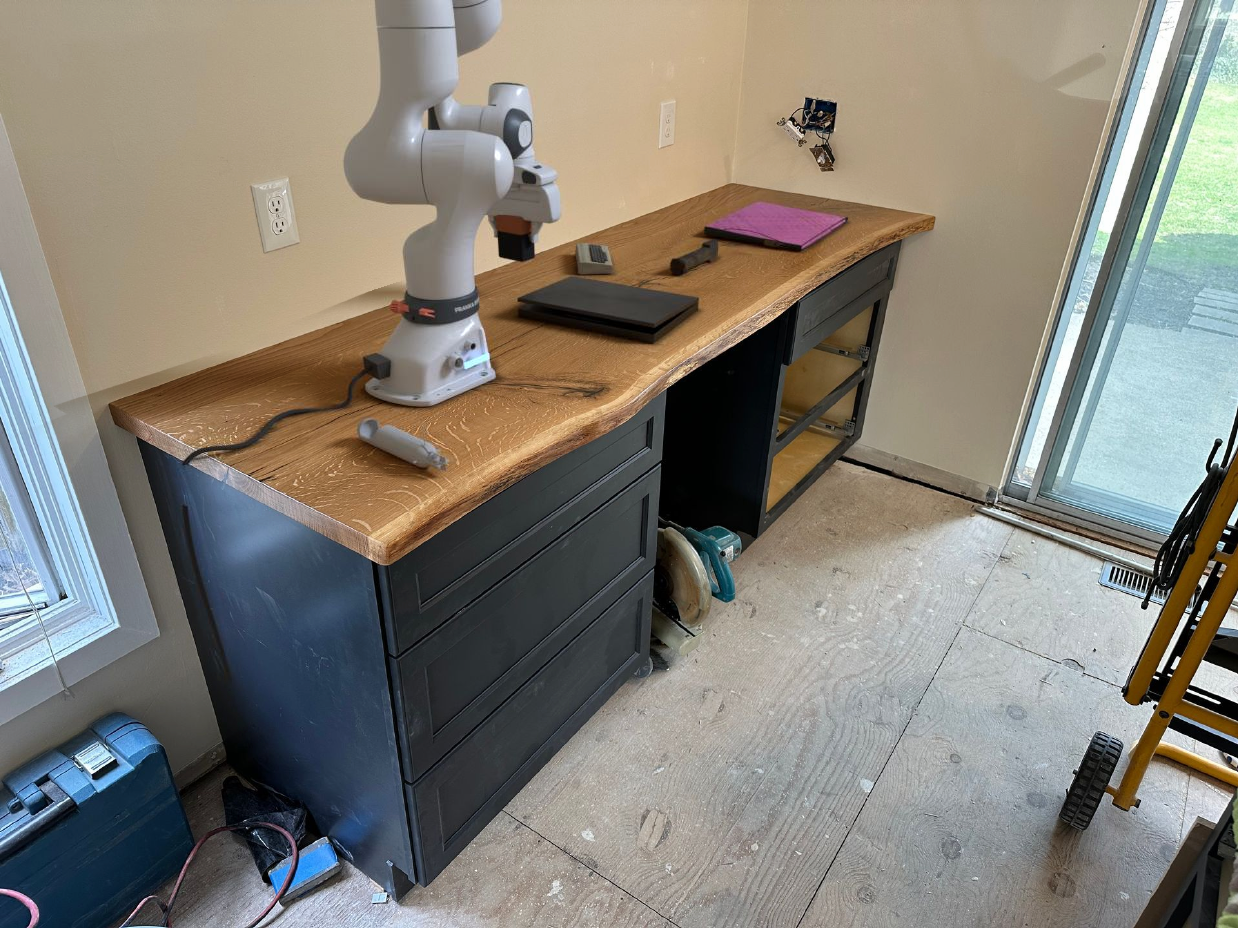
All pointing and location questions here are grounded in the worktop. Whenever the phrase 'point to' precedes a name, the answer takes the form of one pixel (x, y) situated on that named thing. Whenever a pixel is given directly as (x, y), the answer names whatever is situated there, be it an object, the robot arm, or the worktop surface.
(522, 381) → the worktop surface
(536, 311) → the laptop
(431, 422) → the worktop surface
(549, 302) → the laptop screen
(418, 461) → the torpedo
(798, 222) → the laptop bag
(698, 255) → the hand tool
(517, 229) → the battery
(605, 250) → the computer
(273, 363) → the worktop surface
